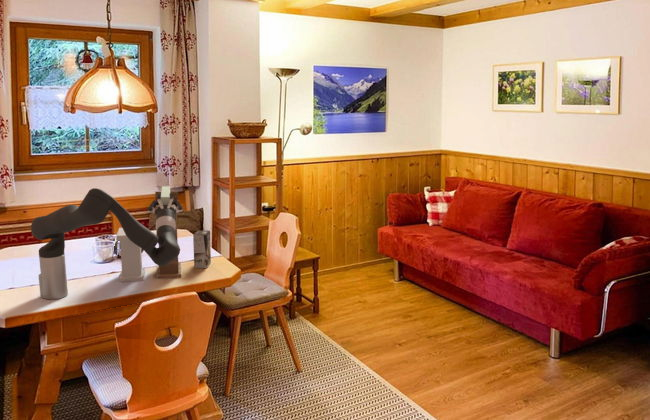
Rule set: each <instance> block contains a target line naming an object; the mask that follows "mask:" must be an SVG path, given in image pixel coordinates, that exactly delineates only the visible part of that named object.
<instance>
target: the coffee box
mask: <svg viewBox="0 0 650 420" xmlns="http://www.w3.org/2000/svg"><path fill="white" fill-rule="evenodd" d="M192 245H193V267H194V268H195V269H199V268H200V269H207V268H208V267H209V266H210V265H211V263H212V254H211V253H212V252H211V250H212V249H211V230H196V232H195V233H193V244H192Z"/></svg>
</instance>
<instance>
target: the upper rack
mask: <svg viewBox="0 0 650 420" xmlns="http://www.w3.org/2000/svg"><path fill="white" fill-rule="evenodd" d="M161 191H162V190H160V191H154V193H155V194H154V195H155V201H157V200H158V195H159V194H161ZM170 194H171V195H173V200H178V201H179V192H178V190H170ZM157 208H158V205H156V207H155V209H154V210H156V209H157ZM173 208H175V209H176V206H175V205H173ZM177 214H179V212H177V213H176V215H175V222H176V229H175V238H176V240H177V243H178V222H177V221H178V220H177V219H178V218H177ZM178 244H179V243H178ZM159 247H160V245H159V244H158V248H159ZM181 265H182V264H181V261H179V256H178V257H177V258H175V259H174V260H173V261H171V262H170V263H169V264H167V265H166V266H159V265H157V266H158V267H157V279H158V280H161V279H175V278H176V279H177V277H179V278H182V269H181V268H182V266H181Z"/></svg>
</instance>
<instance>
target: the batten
mask: <svg viewBox="0 0 650 420" xmlns="http://www.w3.org/2000/svg"><path fill="white" fill-rule="evenodd" d="M160 191H161V202H162V205H168V204H169V202H170V191H171V186H170V185H168V186H167V185H165V186H164V185H163V186H161V190H160Z"/></svg>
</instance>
